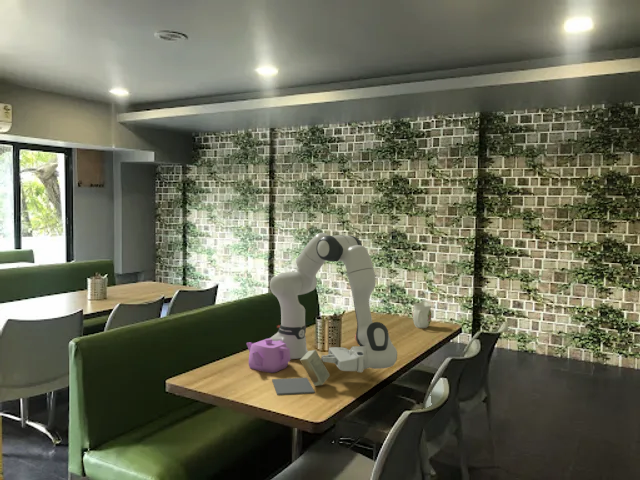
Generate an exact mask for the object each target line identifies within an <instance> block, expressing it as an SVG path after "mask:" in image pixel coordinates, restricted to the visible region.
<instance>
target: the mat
mask: <svg viewBox="0 0 640 480" xmlns="http://www.w3.org/2000/svg"><path fill="white" fill-rule="evenodd" d="M271 381H272V384H273V387H274V390H275V394H276V395H277V396H284V395H303V394H304V395H305V394H315V393H316V392H315V390H314V387H313V385H312V384H311V382H310V381H309V379H308V377H293V378H291V377H290V378H272V379H271Z"/></svg>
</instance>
